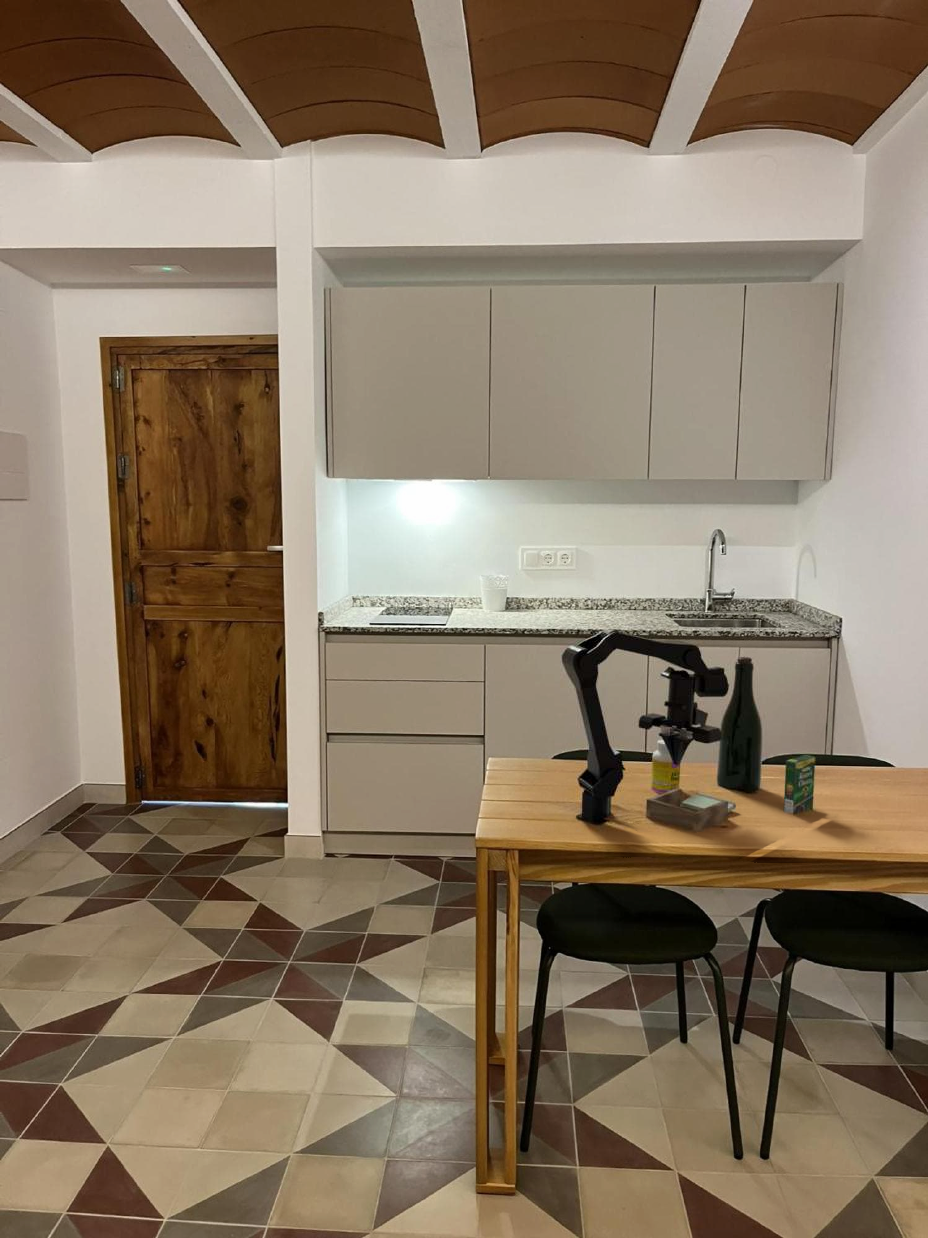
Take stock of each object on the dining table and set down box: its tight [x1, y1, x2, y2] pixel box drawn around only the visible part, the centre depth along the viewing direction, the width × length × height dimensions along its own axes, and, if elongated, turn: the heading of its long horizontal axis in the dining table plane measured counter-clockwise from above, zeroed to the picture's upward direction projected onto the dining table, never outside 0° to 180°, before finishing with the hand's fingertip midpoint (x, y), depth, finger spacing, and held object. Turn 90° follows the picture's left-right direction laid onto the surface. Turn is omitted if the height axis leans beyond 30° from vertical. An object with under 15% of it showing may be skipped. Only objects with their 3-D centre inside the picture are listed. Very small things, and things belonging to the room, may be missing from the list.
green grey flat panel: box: [681, 792, 737, 814], centre depth 207 cm, size 1×10×6 cm
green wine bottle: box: [716, 656, 763, 795], centre depth 224 cm, size 10×10×33 cm
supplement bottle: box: [650, 739, 681, 794], centre depth 220 cm, size 7×7×13 cm
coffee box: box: [783, 754, 816, 815], centre depth 206 cm, size 8×3×13 cm, turn 127°
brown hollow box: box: [645, 787, 729, 833], centre depth 201 cm, size 12×13×5 cm
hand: (676, 765), depth 206 cm, fingers closed
